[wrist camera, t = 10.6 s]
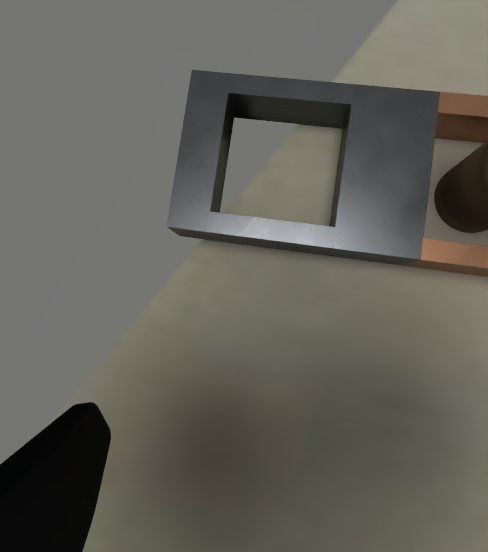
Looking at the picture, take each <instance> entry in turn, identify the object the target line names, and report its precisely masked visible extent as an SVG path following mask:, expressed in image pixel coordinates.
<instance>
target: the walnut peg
mask: <svg viewBox="0 0 488 552" xmlns="http://www.w3.org/2000/svg"><path fill="white" fill-rule="evenodd" d="M435 206H436V209H437V212H438V214H439V215H440V217H441V218H442V220H443V221H444V222H445V223H447V224H448V225H449V226H451V227H452V228H454V229H456V230H459V231H462V232H468V233H474V232H481V231H484V230H487V229H488V141H487V142H485V143H484V144H483V145H482V146H480V147H479V148H478V149H476V150H475V151H474V152H473V153H471V154H470V155H469V156H468V157H466V158H465V159H464V160H462V161H461V162H460V163H459V164H457V165H456V166H455V167H454V168H452V169H451V170H450V171H448V172H447V173H446V174H445V175H444V176H443V177H442V178H441V180H440V181H439V183H438V185H437V187H436V190H435Z"/></svg>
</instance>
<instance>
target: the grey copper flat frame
mask: <svg viewBox="0 0 488 552" xmlns="http://www.w3.org/2000/svg"><path fill="white" fill-rule="evenodd" d="M234 117H235V118H246V119H256V120H266V121H275V122H285V123H295V124H305V125H315V126H325V127H335V128H343V130H342V137H341V145H340V152H339V160H338V167H337V175H336V182H335V190H334V197H333V205H332V212H331V220H330V226H322V225H314V224H306V223H298V222H290V221H281V220H273V219H265V218H257V217H249V216H241V215H233V214H225V213H220V206H221V199H222V193H223V186H224V179H225V173H226V166H227V160H228V153H229V147H230V140H231V134H232V127H233V120H234ZM435 137H436V138H446V139H456V140H466V141H476V142H487V141H488V96H480V95H469V94H458V93H446V92H435V91H424V90H412V89H401V88H390V87H378V86H367V85H356V84H345V83H333V82H322V81H311V80H299V79H288V78H277V77H265V76H254V75H243V74H231V73H220V72H208V71H198V70H197V71H196V70H192V73H191V79H190V85H189V91H188V98H187V104H186V110H185V116H184V122H183V129H182V135H181V141H180V147H179V154H178V160H177V166H176V172H175V178H174V185H173V191H172V197H171V204H170V210H169V216H168V222H167V227H168V228H169V229H171V230H172V231H174V232H175V233H176V234H178V235H179V236H185V237H192V238H199V239H207V240H214V241H222V242H230V243H237V244H245V245H252V246H260V247H268V248H275V249H283V250H290V251H298V252H306V253H313V254H321V255H328V256H336V257H343V258H351V259H359V260H366V261H374V262H381V263H389V264H397V265H404V266H412V267H419V268H427V269H435V270H442V271H450V272H457V273H465V274H472V275H480V276H488V246H482V245H474V244H466V243H458V242H450V241H442V240H434V239H426V238H423V236H424V227H425V219H426V210H427V201H428V193H429V184H430V176H431V167H432V159H433V150H434V142H435Z"/></svg>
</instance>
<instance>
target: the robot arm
mask: <svg viewBox="0 0 488 552" xmlns="http://www.w3.org/2000/svg"><path fill="white" fill-rule="evenodd" d="M110 441H111V432H110V428H109V426H108V424H107V423H106V421H105V419H104V417H103V415H102V413H101V412H100V410H99V408H98V406H97V405H96V404H95V403H92V402H88V403H81V404H76V405H73V406H72V407H71V408H69V409H68V410H67V411H66V412H65V413H63V414H62V415H61V416H60V417H58V418H57V419H56V420H55V421H53V422H52V423H51V424H50V425H48V426H47V427H46V428H45V429H44V430H42V431H41V432H40V433H39V434H37V435H36V436H35V437H34V438H33V439H31V440H30V441H29V442H27V443H26V444H25V445H24V446H23V447H21V448H20V449H19V450H18V451H16V452H15V453H14V454H13V455H11V456H10V457H9V458H8V459H7V460H5V461H4V462H3V463H2V464H0V552H82V551H83V548H84V545H85V542H86V539H87V536H88V532H89V529H90V526H91V523H92V519H93V516H94V512H95V508H96V504H97V500H98V495H99V491H100V486H101V482H102V477H103V473H104V468H105V464H106V459H107V455H108V450H109V446H110Z"/></svg>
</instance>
